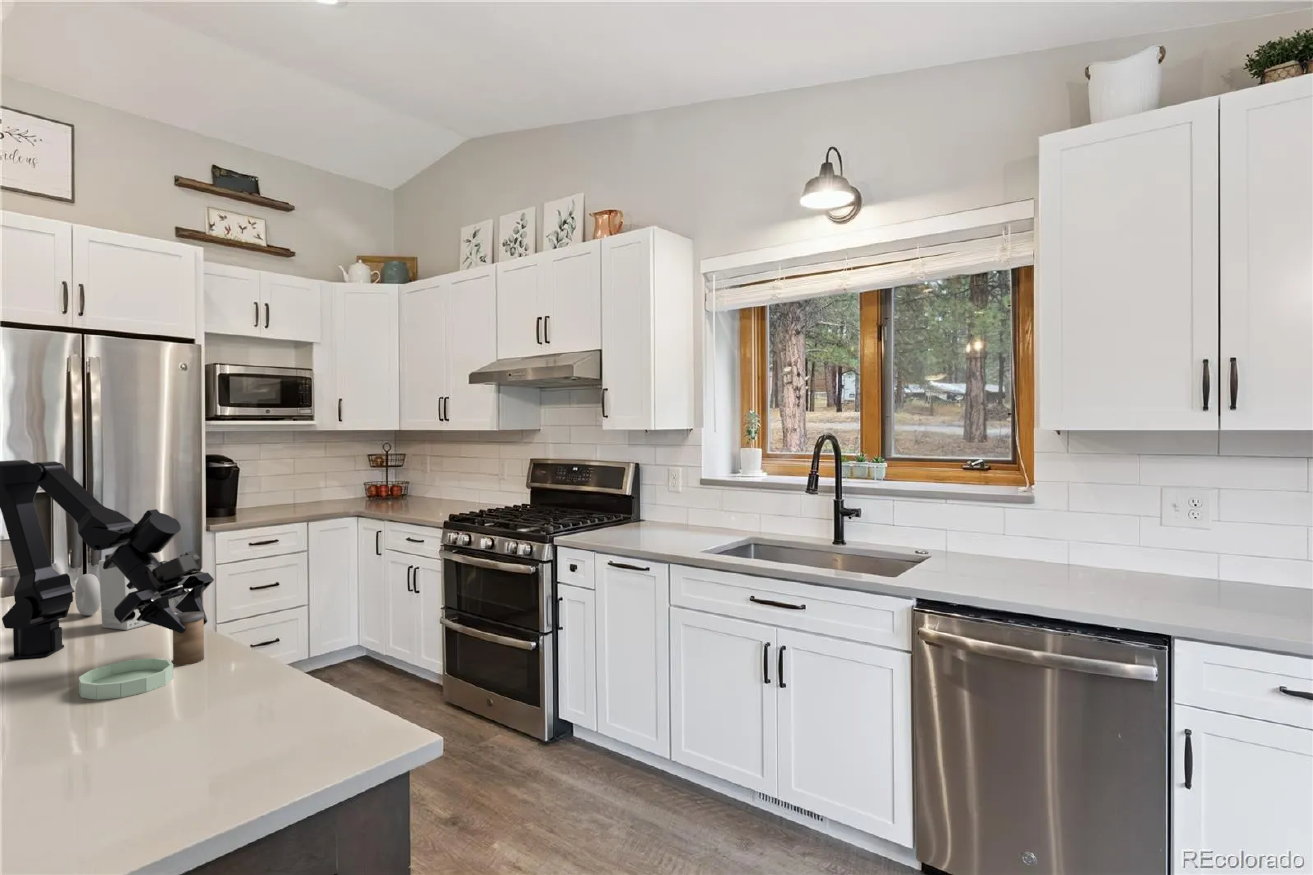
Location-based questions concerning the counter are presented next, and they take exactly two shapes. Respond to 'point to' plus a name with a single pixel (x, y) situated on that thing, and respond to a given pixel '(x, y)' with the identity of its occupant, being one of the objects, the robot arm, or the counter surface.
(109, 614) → the skincare box
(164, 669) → the sage green dish
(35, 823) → the counter surface
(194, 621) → the walnut spice jar
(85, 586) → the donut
